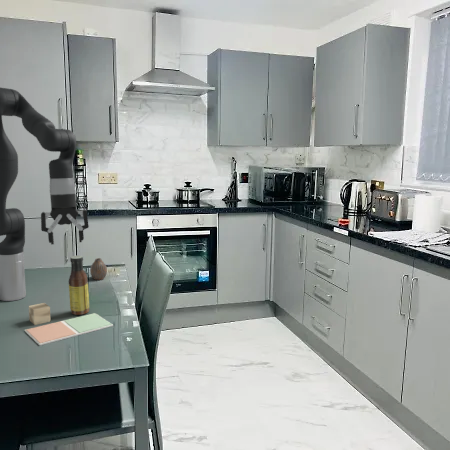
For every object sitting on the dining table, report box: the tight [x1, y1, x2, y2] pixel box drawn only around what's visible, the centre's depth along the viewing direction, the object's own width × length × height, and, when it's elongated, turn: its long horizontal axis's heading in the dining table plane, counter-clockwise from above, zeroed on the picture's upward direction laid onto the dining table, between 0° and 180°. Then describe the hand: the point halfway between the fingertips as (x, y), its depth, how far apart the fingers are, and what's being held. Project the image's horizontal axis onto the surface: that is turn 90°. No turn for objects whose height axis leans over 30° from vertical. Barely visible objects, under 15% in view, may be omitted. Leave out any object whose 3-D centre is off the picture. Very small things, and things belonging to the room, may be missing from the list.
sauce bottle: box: [68, 255, 90, 316], centre depth 152 cm, size 7×6×20 cm
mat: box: [24, 312, 114, 346], centre depth 140 cm, size 13×23×1 cm, turn 131°
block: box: [28, 302, 51, 326], centre depth 145 cm, size 5×5×5 cm
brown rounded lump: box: [89, 257, 108, 281], centre depth 192 cm, size 7×7×9 cm
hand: (66, 243), depth 144 cm, fingers open, 8 cm apart
